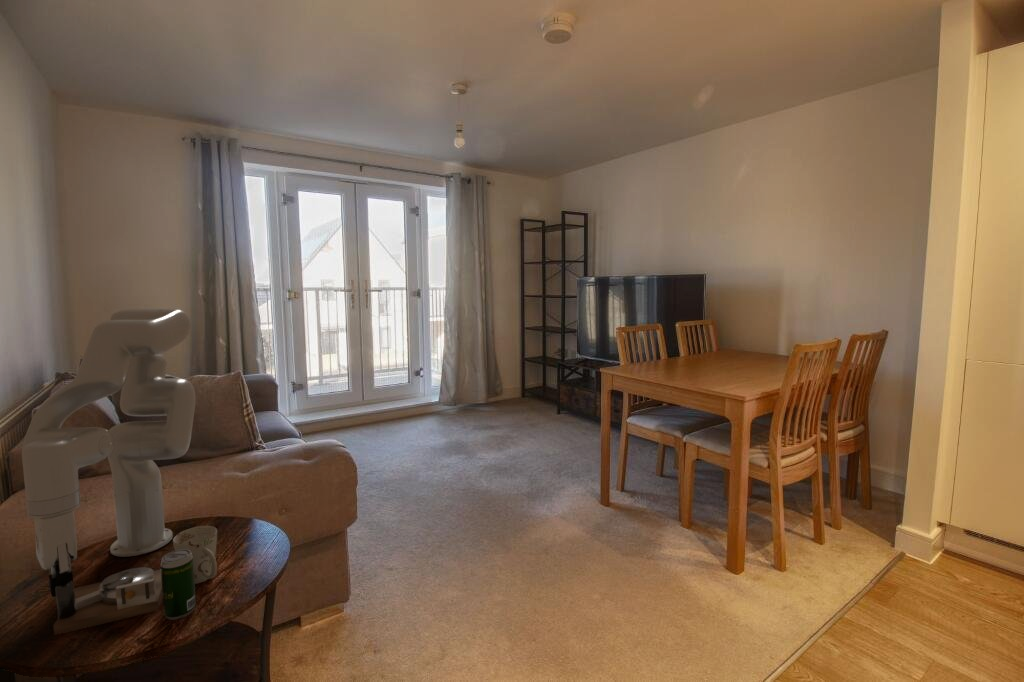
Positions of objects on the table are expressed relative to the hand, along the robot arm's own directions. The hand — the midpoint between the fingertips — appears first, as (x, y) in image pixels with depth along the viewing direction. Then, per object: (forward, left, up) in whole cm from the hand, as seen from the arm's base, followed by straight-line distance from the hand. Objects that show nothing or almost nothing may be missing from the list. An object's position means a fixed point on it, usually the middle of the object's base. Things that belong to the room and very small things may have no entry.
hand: (62, 592), depth 96 cm
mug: (-2, +23, -6) cm, 24 cm away
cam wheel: (+1, +7, -3) cm, 8 cm away
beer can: (+8, +20, -6) cm, 22 cm away
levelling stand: (-1, +8, -5) cm, 10 cm away
